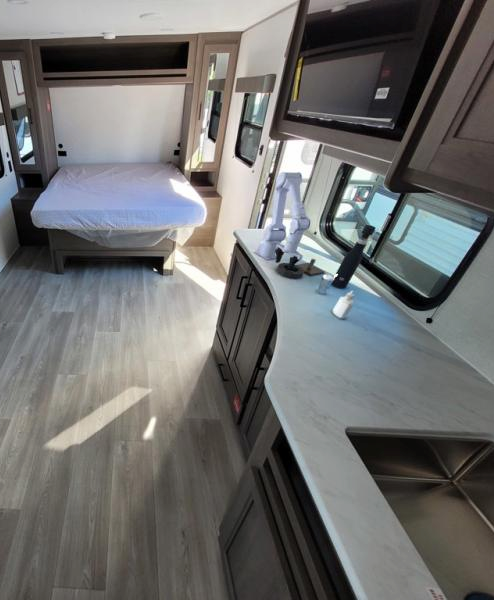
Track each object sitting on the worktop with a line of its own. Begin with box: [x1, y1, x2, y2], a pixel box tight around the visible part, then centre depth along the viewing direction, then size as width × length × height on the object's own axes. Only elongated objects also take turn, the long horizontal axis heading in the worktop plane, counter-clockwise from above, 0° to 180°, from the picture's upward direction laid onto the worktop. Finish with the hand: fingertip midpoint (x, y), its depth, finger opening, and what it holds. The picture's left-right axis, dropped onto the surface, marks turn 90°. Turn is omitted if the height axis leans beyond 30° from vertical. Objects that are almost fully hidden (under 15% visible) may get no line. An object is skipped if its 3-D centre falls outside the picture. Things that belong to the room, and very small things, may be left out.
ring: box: [275, 262, 305, 280], centre depth 157 cm, size 12×12×3 cm
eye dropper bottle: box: [332, 290, 355, 320], centre depth 126 cm, size 4×6×12 cm
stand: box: [296, 258, 325, 277], centre depth 159 cm, size 10×10×6 cm
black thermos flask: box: [330, 224, 377, 290], centre depth 141 cm, size 6×6×30 cm
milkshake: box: [316, 274, 338, 295], centre depth 140 cm, size 4×5×10 cm
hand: (283, 265), depth 160 cm, fingers open, 7 cm apart
